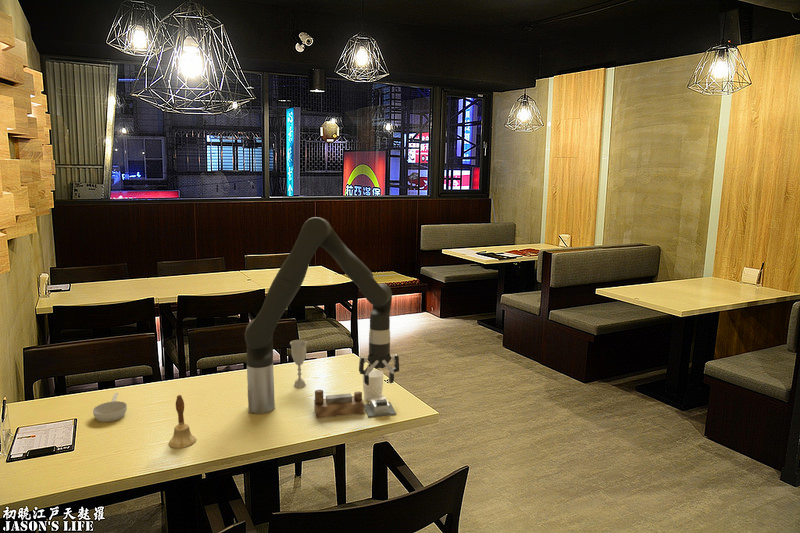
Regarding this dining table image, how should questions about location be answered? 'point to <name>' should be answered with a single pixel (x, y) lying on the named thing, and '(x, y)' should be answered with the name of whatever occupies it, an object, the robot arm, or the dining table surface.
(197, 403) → the dining table surface
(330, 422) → the dining table surface
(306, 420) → the dining table surface
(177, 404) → the hand bell
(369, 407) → the slate mat
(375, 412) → the lever cap
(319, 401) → the plane body
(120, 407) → the pan
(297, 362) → the chalice
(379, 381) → the white cup
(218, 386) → the dining table surface
